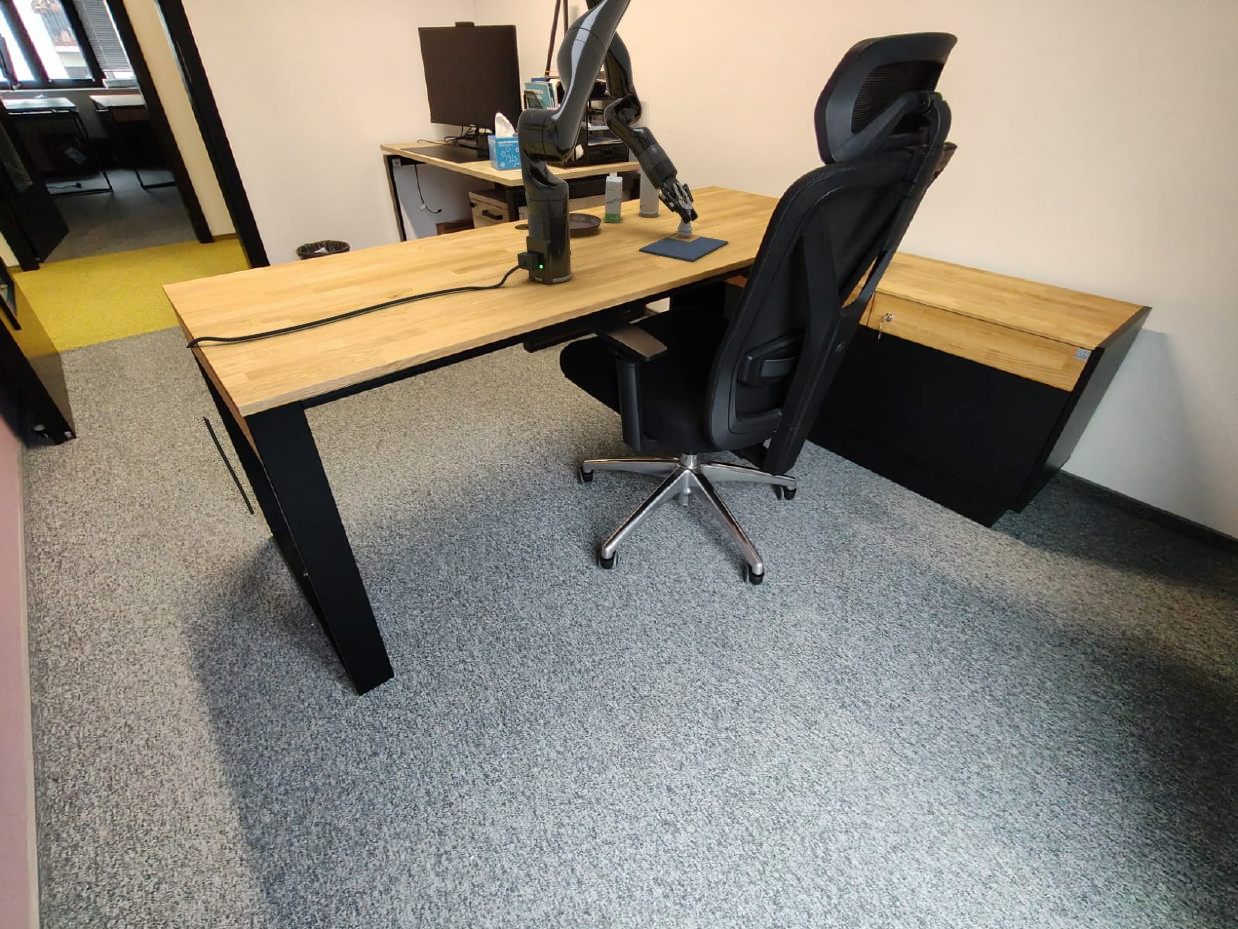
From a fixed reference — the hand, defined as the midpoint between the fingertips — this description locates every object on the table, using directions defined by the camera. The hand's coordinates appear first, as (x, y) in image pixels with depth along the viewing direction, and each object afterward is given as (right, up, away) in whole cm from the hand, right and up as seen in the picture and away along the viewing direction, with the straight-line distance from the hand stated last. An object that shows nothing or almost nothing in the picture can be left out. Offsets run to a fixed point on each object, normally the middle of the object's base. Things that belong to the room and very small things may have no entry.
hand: (692, 220), depth 155 cm
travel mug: (-11, +14, +28) cm, 33 cm away
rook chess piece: (-2, -3, +3) cm, 5 cm away
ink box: (-22, +10, +22) cm, 33 cm away
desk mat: (-2, -8, -2) cm, 9 cm away
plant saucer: (-34, +1, +10) cm, 36 cm away
